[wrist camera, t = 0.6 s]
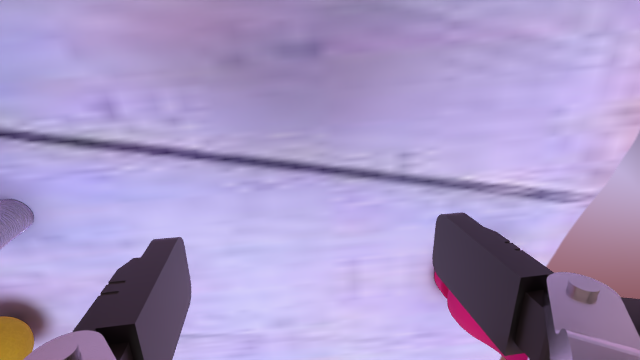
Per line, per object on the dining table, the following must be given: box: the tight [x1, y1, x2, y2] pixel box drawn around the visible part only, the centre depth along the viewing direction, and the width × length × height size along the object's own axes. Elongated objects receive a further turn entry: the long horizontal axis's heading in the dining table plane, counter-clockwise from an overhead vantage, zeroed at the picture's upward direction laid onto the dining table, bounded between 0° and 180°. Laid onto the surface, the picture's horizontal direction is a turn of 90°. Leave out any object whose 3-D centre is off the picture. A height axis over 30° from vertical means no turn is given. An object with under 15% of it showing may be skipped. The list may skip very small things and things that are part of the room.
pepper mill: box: [434, 272, 528, 360], centre depth 26 cm, size 7×7×20 cm
